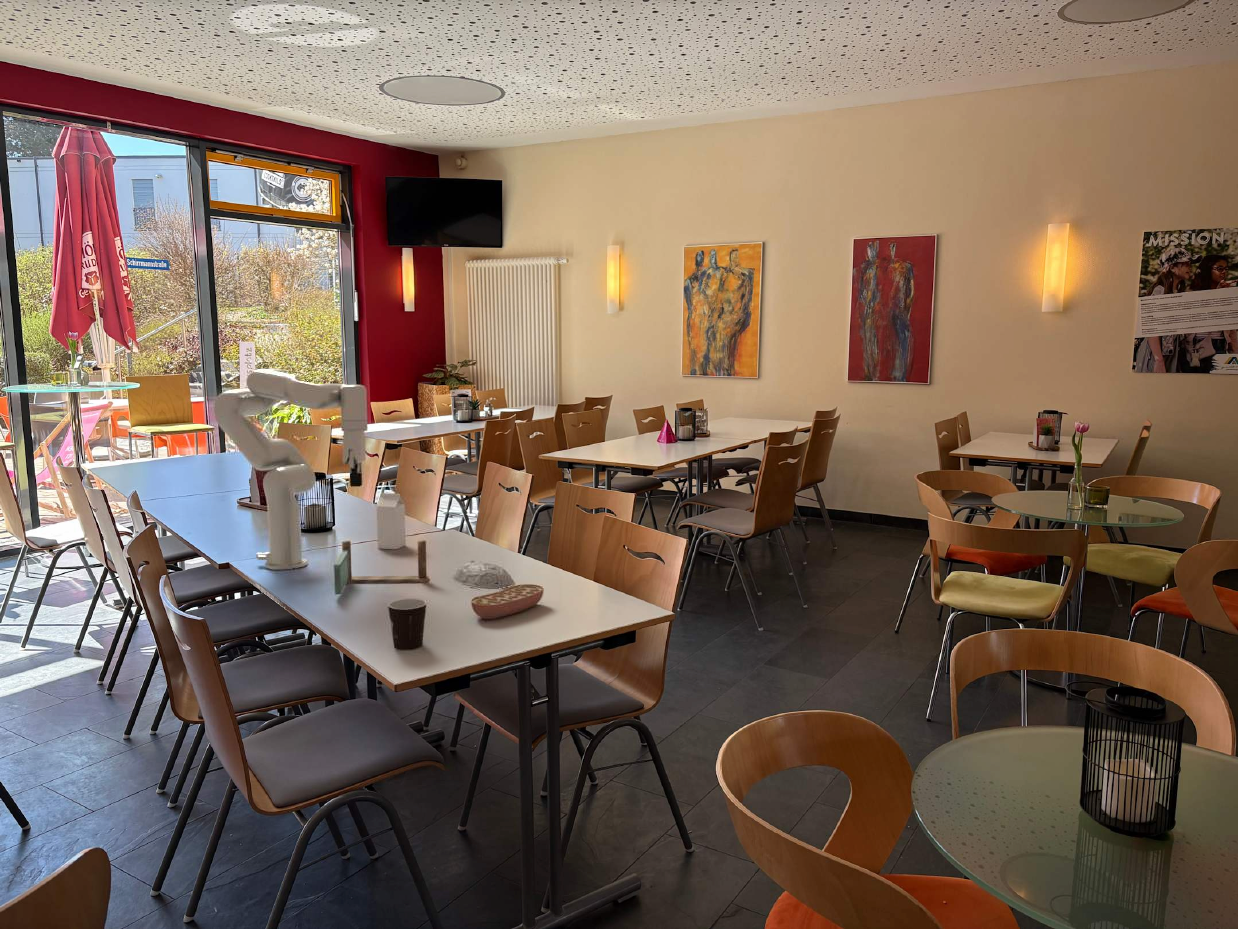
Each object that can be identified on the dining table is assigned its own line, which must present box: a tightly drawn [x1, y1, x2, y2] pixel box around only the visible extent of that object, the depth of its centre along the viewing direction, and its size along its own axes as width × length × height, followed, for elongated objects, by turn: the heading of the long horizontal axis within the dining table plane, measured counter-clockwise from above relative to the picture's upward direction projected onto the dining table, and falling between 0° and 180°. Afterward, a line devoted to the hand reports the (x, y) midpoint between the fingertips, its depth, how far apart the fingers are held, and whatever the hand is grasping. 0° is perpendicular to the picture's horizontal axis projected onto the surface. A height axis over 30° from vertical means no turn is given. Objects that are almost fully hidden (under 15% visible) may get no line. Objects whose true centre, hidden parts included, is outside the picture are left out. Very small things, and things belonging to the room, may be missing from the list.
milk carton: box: [376, 492, 407, 550], centre depth 301 cm, size 7×7×19 cm
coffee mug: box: [387, 598, 427, 651], centre depth 199 cm, size 12×9×10 cm
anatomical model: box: [470, 583, 544, 620], centre depth 227 cm, size 23×10×5 cm, turn 142°
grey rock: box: [452, 559, 515, 590], centre depth 259 cm, size 16×25×7 cm, turn 43°
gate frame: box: [341, 539, 430, 584], centre depth 257 cm, size 25×4×12 cm, turn 94°
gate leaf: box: [333, 550, 349, 595], centre depth 246 cm, size 19×2×8 cm, turn 10°
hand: (356, 485), depth 263 cm, fingers closed
